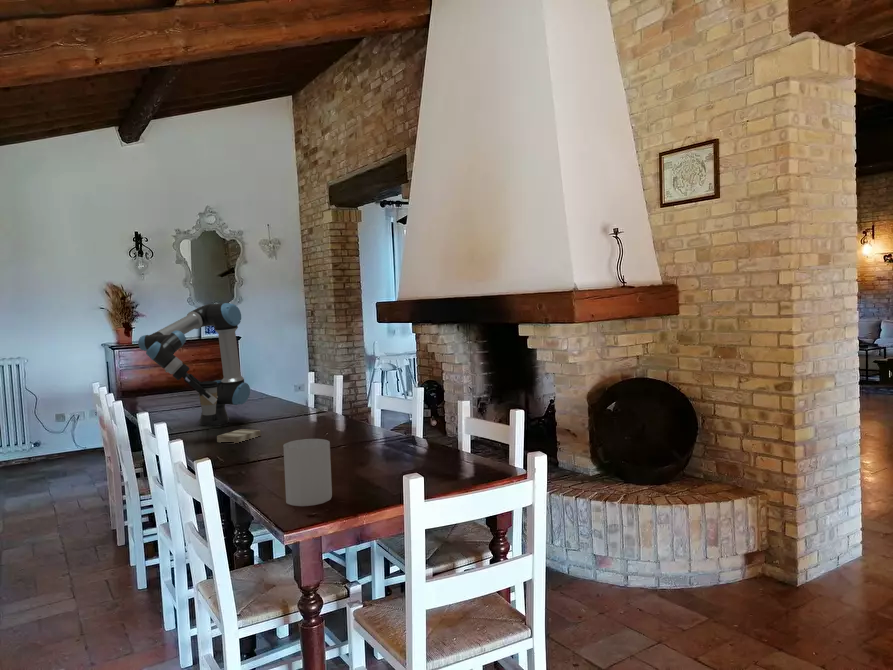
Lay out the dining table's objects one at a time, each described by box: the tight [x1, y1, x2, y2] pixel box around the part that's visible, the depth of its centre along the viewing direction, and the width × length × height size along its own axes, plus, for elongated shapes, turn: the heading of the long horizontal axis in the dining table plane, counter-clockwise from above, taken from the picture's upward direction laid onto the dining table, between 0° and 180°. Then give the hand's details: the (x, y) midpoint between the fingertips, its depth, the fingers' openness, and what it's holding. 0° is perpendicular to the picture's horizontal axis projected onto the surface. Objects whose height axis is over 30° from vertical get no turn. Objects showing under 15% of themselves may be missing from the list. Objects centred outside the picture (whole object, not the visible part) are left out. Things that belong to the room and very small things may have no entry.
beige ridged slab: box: [216, 428, 262, 444], centre depth 304 cm, size 16×12×3 cm
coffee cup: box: [198, 380, 218, 415], centre depth 303 cm, size 9×9×15 cm
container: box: [283, 438, 333, 507], centre depth 206 cm, size 14×14×18 cm
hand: (215, 400), depth 304 cm, fingers closed on coffee cup, 9 cm apart
